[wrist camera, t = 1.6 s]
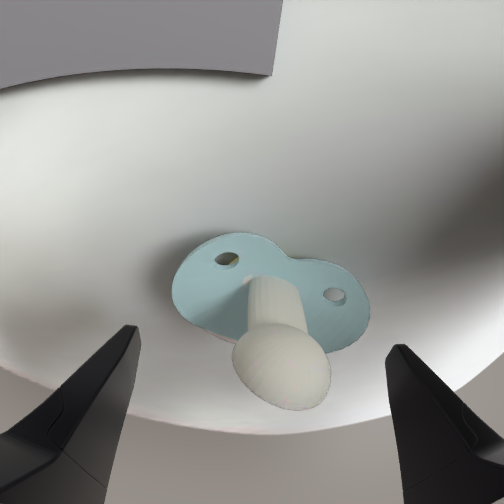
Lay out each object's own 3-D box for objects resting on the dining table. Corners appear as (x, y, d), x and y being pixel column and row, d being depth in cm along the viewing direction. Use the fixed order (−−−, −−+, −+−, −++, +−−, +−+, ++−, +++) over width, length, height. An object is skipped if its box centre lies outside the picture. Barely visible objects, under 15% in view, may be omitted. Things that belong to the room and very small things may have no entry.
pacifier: (304, 349, 15) (372, 263, 12) (317, 462, 10) (426, 392, 7) (164, 310, 14) (201, 198, 11) (132, 433, 9) (156, 338, 6)
